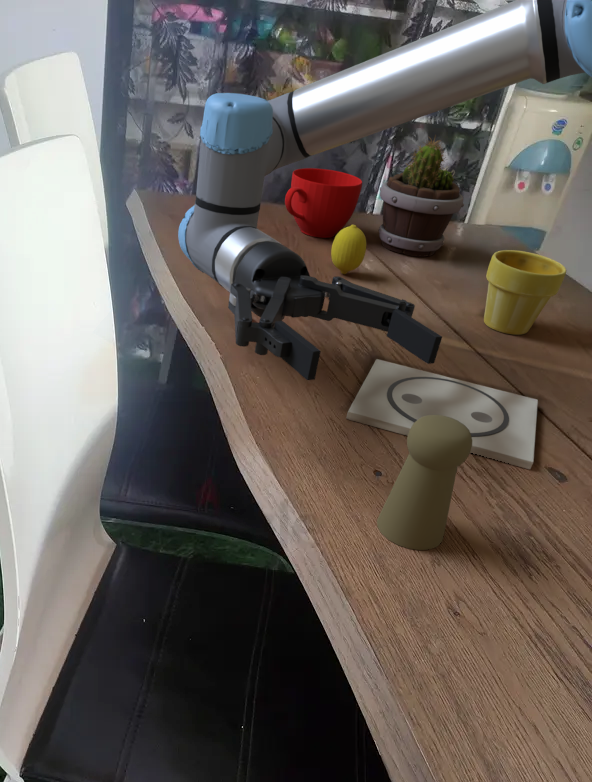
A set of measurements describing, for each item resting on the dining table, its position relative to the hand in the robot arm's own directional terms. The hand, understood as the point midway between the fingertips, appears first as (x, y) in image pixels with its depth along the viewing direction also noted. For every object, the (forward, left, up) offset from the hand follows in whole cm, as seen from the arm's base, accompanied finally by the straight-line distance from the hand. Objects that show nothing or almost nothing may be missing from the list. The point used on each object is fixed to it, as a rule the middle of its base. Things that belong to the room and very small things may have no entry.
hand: (377, 358), depth 66 cm
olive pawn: (-7, +6, -12) cm, 16 cm away
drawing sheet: (-7, -19, -12) cm, 23 cm away
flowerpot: (+8, -83, -12) cm, 84 cm away
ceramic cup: (+26, -79, -12) cm, 84 cm away
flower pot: (-12, -53, -12) cm, 55 cm away
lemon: (+15, -60, -12) cm, 63 cm away
